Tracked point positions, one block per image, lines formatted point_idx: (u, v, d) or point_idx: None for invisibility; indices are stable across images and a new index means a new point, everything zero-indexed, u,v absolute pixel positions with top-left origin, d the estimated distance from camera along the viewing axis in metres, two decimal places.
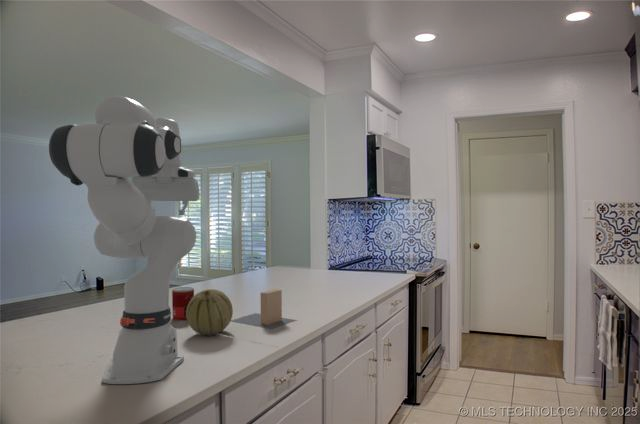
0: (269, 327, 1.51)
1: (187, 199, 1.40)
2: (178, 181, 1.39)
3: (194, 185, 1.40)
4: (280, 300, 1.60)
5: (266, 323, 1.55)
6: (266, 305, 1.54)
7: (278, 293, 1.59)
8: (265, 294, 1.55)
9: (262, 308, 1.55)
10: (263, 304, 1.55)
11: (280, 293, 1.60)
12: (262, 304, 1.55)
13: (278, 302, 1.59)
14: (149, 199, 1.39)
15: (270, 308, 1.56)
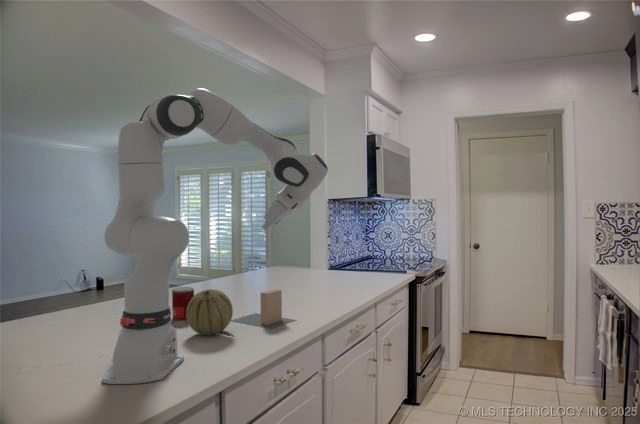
0: (269, 327, 1.51)
1: None
2: None
3: (271, 205, 1.43)
4: (280, 300, 1.60)
5: (266, 323, 1.55)
6: (266, 305, 1.54)
7: (278, 293, 1.59)
8: (265, 294, 1.55)
9: (262, 308, 1.55)
10: (263, 304, 1.55)
11: (280, 293, 1.60)
12: (262, 304, 1.55)
13: (278, 302, 1.59)
14: None
15: (270, 308, 1.56)
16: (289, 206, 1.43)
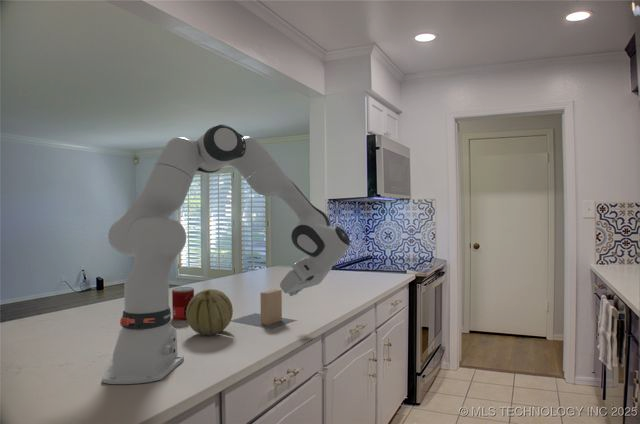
0: (269, 327, 1.51)
1: None
2: None
3: None
4: (280, 300, 1.60)
5: (266, 323, 1.55)
6: (266, 305, 1.54)
7: (278, 293, 1.59)
8: (265, 294, 1.55)
9: (262, 308, 1.55)
10: (263, 304, 1.55)
11: (280, 293, 1.60)
12: (262, 304, 1.55)
13: (278, 302, 1.59)
14: None
15: (270, 308, 1.56)
16: (303, 278, 1.40)
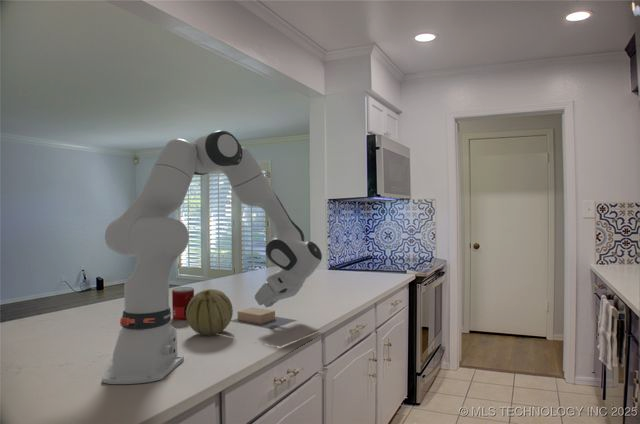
0: (269, 327, 1.51)
1: None
2: None
3: None
4: (258, 308, 1.66)
5: (259, 316, 1.56)
6: (246, 313, 1.60)
7: (251, 308, 1.67)
8: (238, 313, 1.62)
9: (248, 319, 1.59)
10: (245, 317, 1.60)
11: (254, 308, 1.68)
12: (245, 318, 1.60)
13: (257, 309, 1.65)
14: None
15: (252, 312, 1.60)
16: (276, 290, 1.46)
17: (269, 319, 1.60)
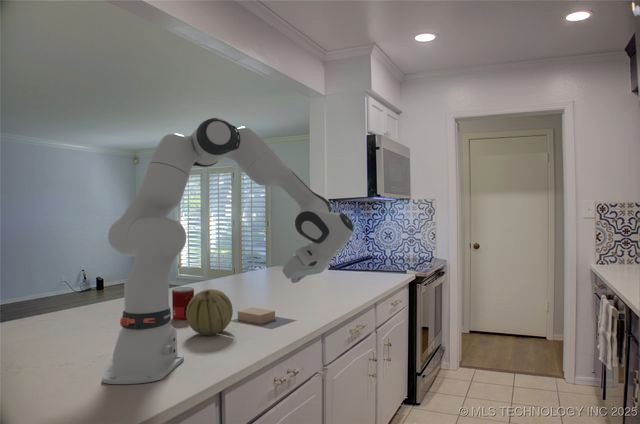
0: (269, 327, 1.51)
1: None
2: None
3: None
4: (258, 308, 1.66)
5: (259, 316, 1.56)
6: (246, 313, 1.60)
7: (251, 308, 1.67)
8: (238, 313, 1.62)
9: (248, 319, 1.59)
10: (245, 317, 1.60)
11: (254, 308, 1.68)
12: (245, 318, 1.60)
13: (257, 309, 1.65)
14: None
15: (252, 312, 1.60)
16: (305, 262, 1.39)
17: (269, 319, 1.60)
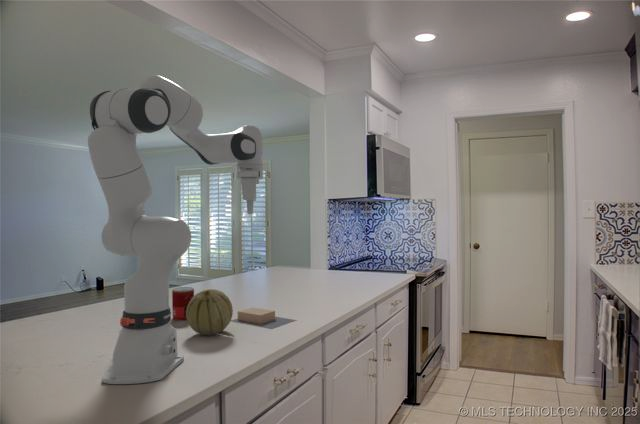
0: (269, 327, 1.51)
1: None
2: None
3: (241, 184, 1.44)
4: (258, 308, 1.66)
5: (259, 316, 1.56)
6: (246, 313, 1.60)
7: (251, 308, 1.67)
8: (238, 313, 1.62)
9: (248, 319, 1.59)
10: (245, 317, 1.60)
11: (254, 308, 1.68)
12: (245, 318, 1.60)
13: (257, 309, 1.65)
14: None
15: (252, 312, 1.60)
16: (256, 173, 1.45)
17: (269, 319, 1.60)
